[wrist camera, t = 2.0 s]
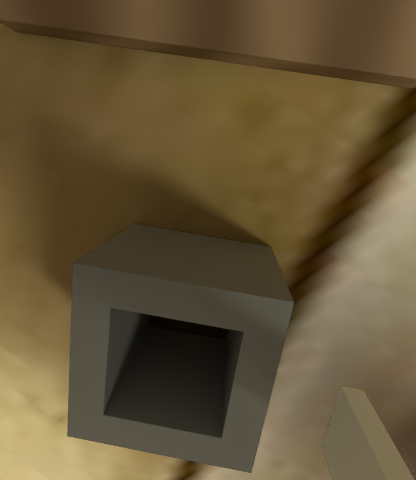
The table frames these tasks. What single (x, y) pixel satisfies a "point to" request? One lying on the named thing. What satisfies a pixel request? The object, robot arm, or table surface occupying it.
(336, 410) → the robot arm
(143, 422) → the collar
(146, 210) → the table surface
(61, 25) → the base plate
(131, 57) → the table surface
